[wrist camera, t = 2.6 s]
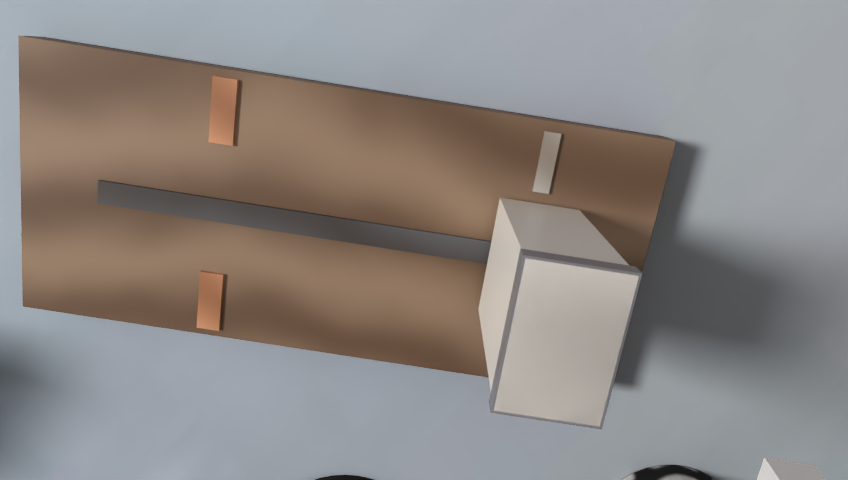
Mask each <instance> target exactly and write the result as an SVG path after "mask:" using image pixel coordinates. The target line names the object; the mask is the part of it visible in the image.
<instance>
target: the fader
mask: <svg viewBox="0 0 848 480" xmlns="http://www.w3.org/2000/svg"><path fill="white" fill-rule="evenodd" d="M641 278H642V273H641V272H640V270H639V269H638V268H637V267H636V266H630V265H629V264H628V263H627V262H626V261H625V260H624V259H623V258H622V257H621V255H620V254H619V253H618V252H617V251H616V250H615V249H614V248H613V247H612V246H611V244H610V243H609V242H608V241H607V240H606V239H605V238H604V237H603V236H602V234H601V233H600V232H599V231H598V230H597V229H596V228H595V227H594V226H593V224H592V223H591V222H590V221H589V220H588V219H587V218H586V217H585V216H584V214H583V213H582V212H581V211H580V210H576V209H570V208H563V207H557V206H551V205H544V204H538V203H532V202H525V201H519V200H513V199H506V198H500V199H499V204H498V210H497V215H496V220H495V225H494V230H493V236H492V241H491V246H490V251H489V256H488V262H487V267H486V272H485V277H484V282H483V288H482V293H481V298H480V303H479V309H478V310H479V317H480V324H481V330H482V337H483V343H484V350H485V356H486V363H487V370H488V376H489V383H490V389H491V394H490V399H489V405H490V412H491V413H497V414H504V415H510V416H517V417H523V418H530V419H537V420H543V421H550V422H556V423H563V424H570V425H576V426H583V427H589V428H596V429H602V426H603V422H604V419H605V415H606V411H607V407H608V403H609V399H610V396H611V392H612V388H613V384H614V380H615V377H616V373H617V369H618V365H619V361H620V358H621V354H622V350H623V346H624V342H625V339H626V335H627V331H628V327H629V323H630V320H631V316H632V312H633V308H634V304H635V301H636V297H637V293H638V289H639V285H640V282H641Z"/></svg>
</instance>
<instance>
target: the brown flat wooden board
mask: <svg viewBox="0 0 848 480" xmlns="http://www.w3.org/2000/svg"><path fill="white" fill-rule="evenodd" d="M19 93H20V156H21V218H22V280H23V306H24V307H31V308H37V309H44V310H50V311H57V312H64V313H70V314H77V315H83V316H90V317H96V318H103V319H109V320H116V321H123V322H129V323H136V324H142V325H149V326H155V327H162V328H169V329H175V330H182V331H188V332H195V333H201V334H208V335H214V336H221V337H228V338H234V339H241V340H247V341H254V342H260V343H267V344H274V345H280V346H287V347H293V348H300V349H306V350H313V351H319V352H326V353H333V354H339V355H346V356H352V357H359V358H365V359H372V360H379V361H385V362H392V363H398V364H405V365H411V366H418V367H424V368H431V369H438V370H444V371H451V372H457V373H464V374H470V375H477V376H484V377H489V376H488V370H487V363H486V356H485V350H484V343H483V337H482V330H481V324H480V317H479V310H478V309H479V303H480V298H481V293H482V288H483V282H484V277H485V272H486V267H487V262H488V256H489V251H490V246H491V241H492V236H493V230H494V225H495V220H496V215H497V210H498V204H499V199H500V198H506V199H513V200H519V201H525V202H532V203H538V204H544V205H551V206H557V207H563V208H570V209H576V210H580V211H581V212H582V213H583V214H584V216H585V217H586V218H587V219H588V220H589V221H590V222H591V223H592V224H593V226H594V227H595V228H596V229H597V230H598V231H599V232H600V233H601V234H602V236H603V237H604V238H605V239H606V240H607V241H608V242H609V243H610V244H611V246H612V247H613V248H614V249H615V250H616V251H617V252H618V253H619V254H620V255H621V257H622V258H623V259H624V260H625V261H626V262H627V263H628V264H629V265H630V266H636V267H637V268H638V269H639V270H640V272H641V273H642V270H643V266H644V262H645V258H646V255H647V251H648V247H649V243H650V239H651V235H652V232H653V228H654V224H655V220H656V216H657V213H658V209H659V205H660V201H661V197H662V194H663V190H664V186H665V182H666V178H667V174H668V171H669V167H670V163H671V159H672V155H673V152H674V148H675V144H676V141H674V140H671V139H668V138H666V137H663V136H657V135H650V134H644V133H638V132H632V131H626V130H619V129H613V128H607V127H601V126H594V125H588V124H582V123H576V122H570V121H563V120H557V119H551V118H545V117H538V116H532V115H526V114H520V113H514V112H507V111H501V110H495V109H489V108H482V107H476V106H470V105H464V104H458V103H451V102H445V101H439V100H433V99H426V98H420V97H414V96H408V95H402V94H395V93H389V92H383V91H377V90H370V89H364V88H358V87H352V86H346V85H339V84H333V83H327V82H321V81H314V80H308V79H302V78H296V77H289V76H283V75H277V74H271V73H265V72H258V71H252V70H246V69H240V68H233V67H227V66H221V65H215V64H209V63H202V62H196V61H190V60H184V59H177V58H171V57H165V56H159V55H153V54H146V53H140V52H134V51H128V50H121V49H115V48H109V47H103V46H97V45H90V44H84V43H78V42H72V41H65V40H59V39H53V38H47V37H34V36H19Z"/></svg>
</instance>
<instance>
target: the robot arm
mask: <svg viewBox="0 0 848 480" xmlns="http://www.w3.org/2000/svg"><path fill="white" fill-rule="evenodd" d="M757 480H826V479H825V478H824V477H823V476H822V474H821V473H820V472H819V471H818V469H817V468H816V467H815V465H808V464H802V463H796V462H790V461H783V460H777V459H771V458H764V460H763V463H762V466H761V469H760V472H759V475H758V478H757Z"/></svg>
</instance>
